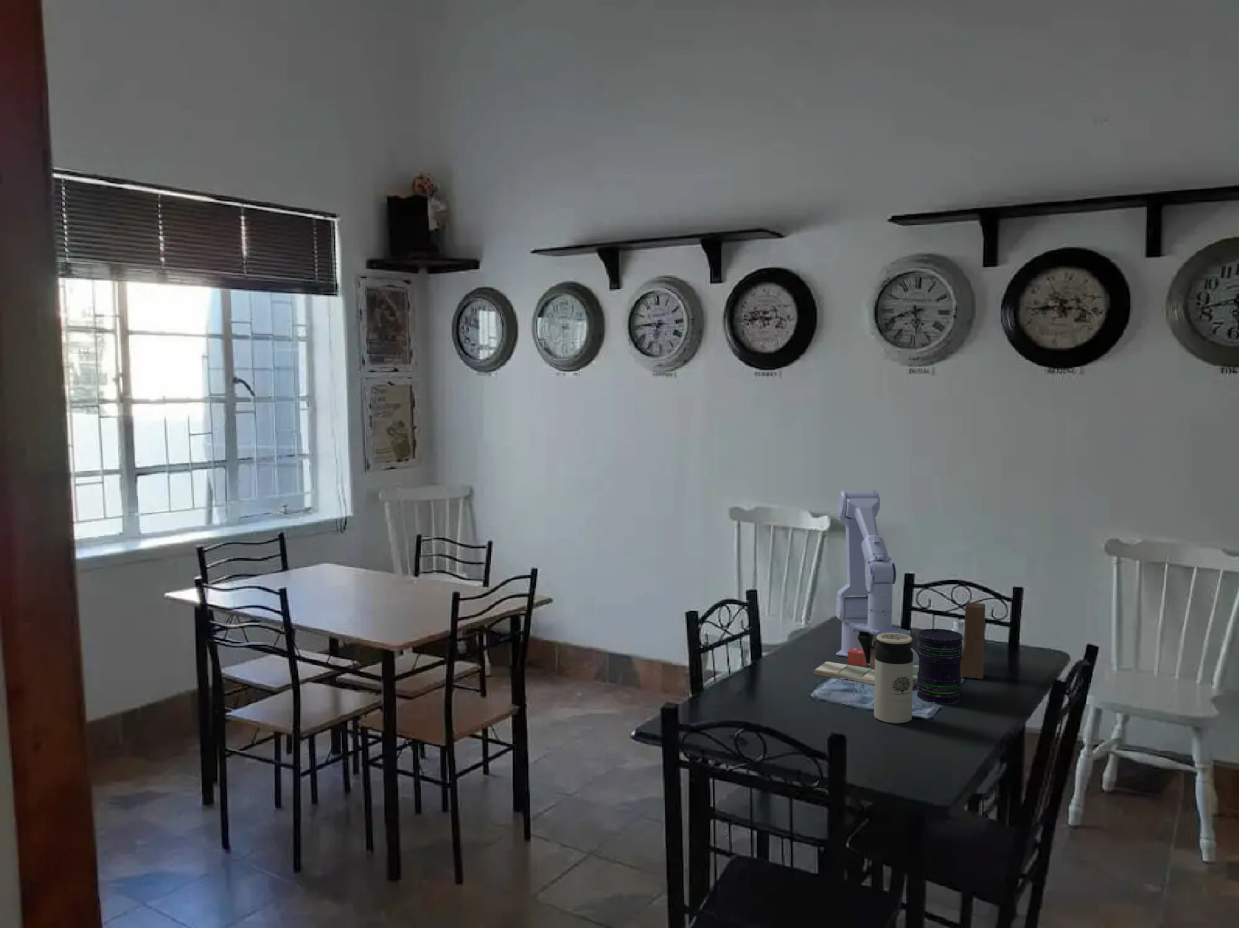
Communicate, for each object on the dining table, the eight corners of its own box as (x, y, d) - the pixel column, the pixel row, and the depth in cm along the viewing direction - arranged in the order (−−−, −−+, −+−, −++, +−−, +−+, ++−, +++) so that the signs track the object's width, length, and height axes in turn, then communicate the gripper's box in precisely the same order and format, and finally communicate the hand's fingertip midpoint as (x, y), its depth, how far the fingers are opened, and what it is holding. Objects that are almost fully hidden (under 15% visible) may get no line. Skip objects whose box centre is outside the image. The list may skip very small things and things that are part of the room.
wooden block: (944, 675, 245) (945, 604, 244) (945, 670, 250) (947, 600, 248) (982, 679, 242) (984, 607, 240) (983, 674, 246) (985, 603, 245)
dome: (896, 662, 254) (897, 642, 254) (924, 667, 250) (925, 646, 250) (888, 670, 248) (889, 648, 248) (916, 674, 244) (917, 652, 244)
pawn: (872, 664, 246) (873, 636, 245) (890, 667, 243) (890, 639, 243) (867, 668, 242) (867, 640, 241) (884, 671, 240) (885, 643, 239)
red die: (852, 662, 257) (852, 647, 256) (867, 665, 255) (868, 649, 254) (847, 666, 253) (847, 651, 253) (862, 669, 251) (862, 653, 251)
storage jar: (968, 703, 225) (970, 639, 224) (926, 705, 224) (927, 640, 223) (950, 689, 235) (952, 628, 233) (910, 691, 234) (911, 629, 233)
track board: (826, 665, 255) (826, 660, 255) (920, 680, 242) (920, 675, 242) (813, 674, 247) (813, 669, 247) (910, 690, 234) (910, 685, 234)
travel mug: (870, 711, 220) (871, 632, 219) (906, 711, 220) (908, 632, 218) (878, 724, 212) (880, 642, 211) (916, 724, 212) (917, 642, 210)
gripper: (845, 609, 242) (844, 663, 243) (904, 616, 234) (903, 673, 235) (855, 603, 248) (854, 656, 249) (913, 610, 240) (912, 665, 241)
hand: (878, 664), depth 243 cm, fingers closed on pawn, 4 cm apart
